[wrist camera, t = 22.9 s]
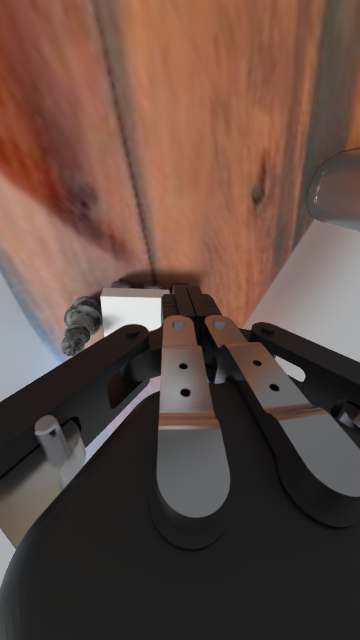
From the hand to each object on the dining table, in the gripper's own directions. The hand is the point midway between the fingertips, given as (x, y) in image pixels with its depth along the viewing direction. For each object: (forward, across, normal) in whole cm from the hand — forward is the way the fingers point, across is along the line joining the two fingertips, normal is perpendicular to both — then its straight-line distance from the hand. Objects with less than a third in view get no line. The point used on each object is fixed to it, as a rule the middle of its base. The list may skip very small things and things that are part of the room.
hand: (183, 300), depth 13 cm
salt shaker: (+24, +13, +14) cm, 31 cm away
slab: (+21, +4, +14) cm, 26 cm away
